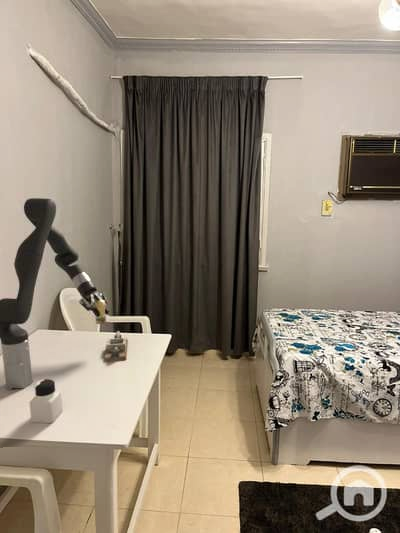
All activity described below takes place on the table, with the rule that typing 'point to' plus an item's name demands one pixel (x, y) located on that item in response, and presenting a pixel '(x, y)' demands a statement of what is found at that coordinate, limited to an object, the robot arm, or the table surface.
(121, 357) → the shaft rig
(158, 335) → the table surface
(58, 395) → the medicine bottle
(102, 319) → the ball
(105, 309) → the robot arm
